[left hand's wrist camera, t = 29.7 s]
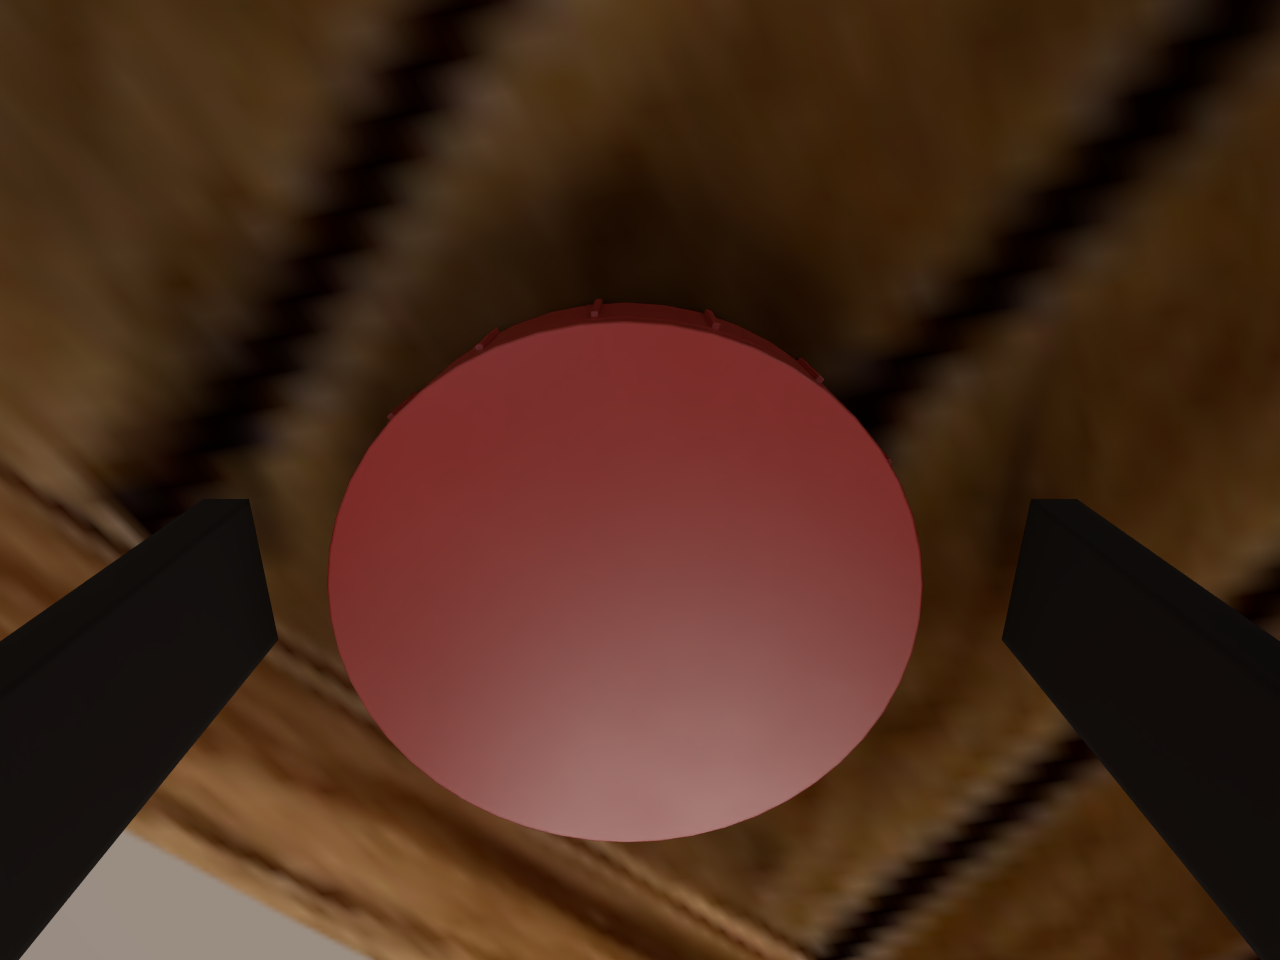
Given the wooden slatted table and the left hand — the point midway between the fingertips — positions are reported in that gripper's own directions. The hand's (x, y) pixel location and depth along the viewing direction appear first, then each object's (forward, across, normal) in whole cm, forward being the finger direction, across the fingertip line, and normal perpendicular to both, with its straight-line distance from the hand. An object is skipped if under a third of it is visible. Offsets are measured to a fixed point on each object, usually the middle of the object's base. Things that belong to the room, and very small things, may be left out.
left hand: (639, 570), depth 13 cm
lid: (-1, 0, 0) cm, 1 cm away
